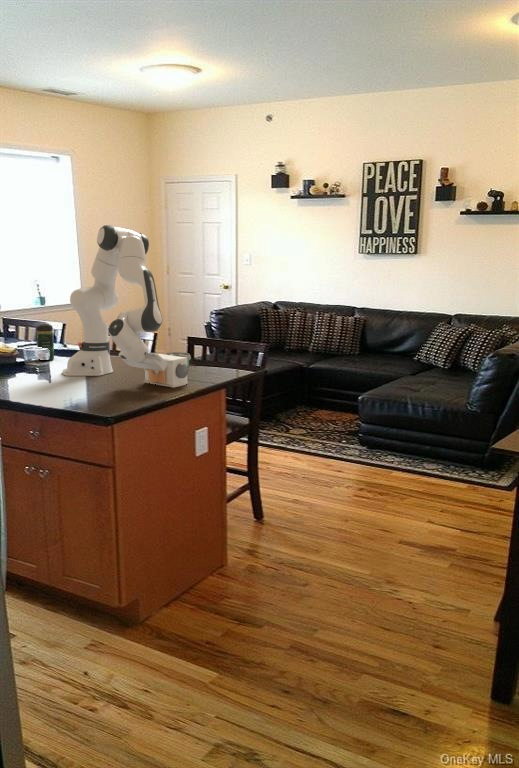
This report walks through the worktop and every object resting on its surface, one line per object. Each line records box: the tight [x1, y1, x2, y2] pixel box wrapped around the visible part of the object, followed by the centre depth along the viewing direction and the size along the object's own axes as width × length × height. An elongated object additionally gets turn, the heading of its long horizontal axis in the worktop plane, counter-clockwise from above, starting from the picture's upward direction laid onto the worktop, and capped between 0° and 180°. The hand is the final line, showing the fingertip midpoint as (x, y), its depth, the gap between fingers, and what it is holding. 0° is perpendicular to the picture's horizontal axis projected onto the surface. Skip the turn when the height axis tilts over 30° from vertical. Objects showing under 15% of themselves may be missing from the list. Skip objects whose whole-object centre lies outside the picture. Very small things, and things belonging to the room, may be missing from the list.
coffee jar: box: [36, 322, 55, 361], centre depth 327 cm, size 10×8×19 cm
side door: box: [149, 369, 166, 383], centre depth 269 cm, size 8×5×8 cm, turn 55°
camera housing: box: [143, 353, 189, 388], centre depth 274 cm, size 18×10×12 cm, turn 55°
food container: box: [165, 351, 192, 377], centre depth 295 cm, size 12×6×10 cm, turn 65°
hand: (154, 372), depth 269 cm, fingers closed on side door, 2 cm apart
